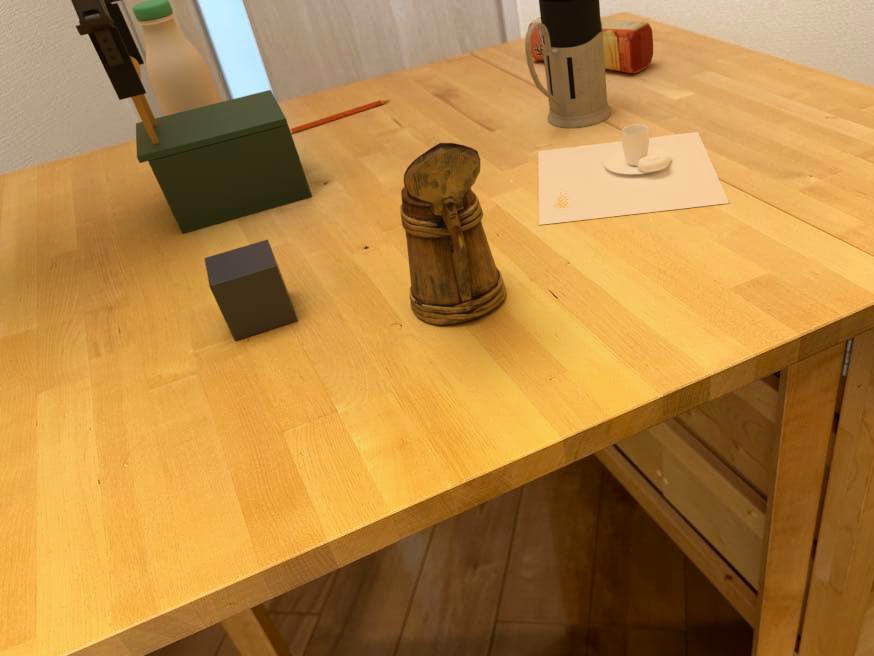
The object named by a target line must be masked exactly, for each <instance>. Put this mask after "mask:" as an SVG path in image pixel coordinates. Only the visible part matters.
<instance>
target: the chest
mask: <svg viewBox="0 0 874 656" xmlns="http://www.w3.org/2000/svg"><path fill="white" fill-rule="evenodd" d="M290 129H291V128H290V126H289V123H288V124H287V125H284V126H280V127H277V128H273V129H269V130H265V131H261V132H257V133H254V134H250V135H246V136H242V137H238V138H234V139H231V140H227V141H223V142H219V143H215V144H211V145H208V146H204V147H200V148H196V149H192V150H188V151H185V152H181V153H177V154H173V155H169V156H165V157H162V158H158V159H154V160H150V161H147V162H148V164H149V166H150V168H151V171H152V173H153V175H154V177H155V179H156V181H157V183H158V186H159V188H160V189H161V192H162V194H163V196H164V198H165V200H166V202H167V204H168V207H169V209H170V211H171V214H172V215H173V217H174V220H175V222H176V223H177V226H178V229H179V230H180V232H181V234H186V233H189V232H192V231H193V232H194V231H196V230H200V229H203V228H206V227H210V226H213V225H217V224H221V223H224V222H227V221H231V220H234V219H238V218H241V217H245V216H249V215H252V214H256V213H259V212H263V211H266V210H269V209H273V208H277V207H281V206H283V205H287V204H291V203H294V202H298V201H301V200H305V199H308V198H311V197H313V195H312V191H311V188H310V186H309V183H308V180H307V177H306V174H305V171H304V168H303V165H302V162H301V159H300V156H299V153H298V150H297V147H296V144H295V141H294V138H293V134H291V132H290Z"/></svg>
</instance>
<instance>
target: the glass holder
mask: <svg viewBox="0 0 874 656" xmlns="http://www.w3.org/2000/svg"><path fill="white" fill-rule="evenodd" d="M538 5H539V6H538V7H539V14H540V16H539V17H541V23H536V22H535V23H533V24H532V25H531V26H530V27H529V26H528V27H529V28H528V27H527V31H526V33H525V39H524V51H525V58H526V64H527V66H528V71H529V73H530V76H531V79H532V81H533V83H534V85H535V86H536V89H537V90H538V91H540V93H542V94H543V95H544V96H545V97H546V98H548V105H549V106H548V107H549V108H548V114H547V122H548V123H549V124H550V125H552V126H554V127H558V128H566V129H576V128H577V129H578V128H585V127H590V126H594V125H597V124H599V123H601V122H604V121H606V120H608V118H610V116H611V115H612V109H611V107H610V105H609V103H608V93H607V79H606V77H607V76H606V69H605V60H604V44H603V30H602V22H601V7H600V5H601V4H600V0H538ZM537 26H539V27H540V29H541V30H542V33H543V38H542V46H543V55H544V61H543V63H544V71H545V80H546V81H545V82H546V88H547V89H546V88H545V87H544V86H543V84H542V82H541V81H540V79H539V77H538V74H537V72H536V68H535V65H534V61H533V57H532V54H531V35H532V33H533V30H534V29H535V28H536V27H537Z"/></svg>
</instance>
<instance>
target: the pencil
mask: <svg viewBox="0 0 874 656" xmlns="http://www.w3.org/2000/svg"><path fill="white" fill-rule="evenodd" d="M390 101H391V99H389V98H388V99H379V100H376V101H373V102H370V103H367V104H364V105H360V106H357V107H353V108H350V109H348V110H345V111H341V112H338V113H336V114H333V115H330V116H326V117H322V118H320V119H317V120H314V121H311V122H308V123H304V124H301V125H299V126H295V127H292V128H289V129H290V132H291V135H294V134H298V133H300V132H303V131H304V132H305V131H306V130H310V129H313V128H316V127H319V126H322V125H325V124H327V123H328V124H329V123H332V122H334V121H337V120H340V119H343V118H346V117H347V118H348V117H350V116H353V115H356V114H358V113H362V112H365V111H368V110H371V109H373V108H374V109H375V108H377V107H380V106H383V105H385V104H386V103H388V102H390Z"/></svg>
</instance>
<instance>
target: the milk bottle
mask: <svg viewBox="0 0 874 656" xmlns="http://www.w3.org/2000/svg"><path fill="white" fill-rule="evenodd" d="M132 13H133V14H134V17H135V19H136V20H137V22H138V25H139V26H141V29H142V31H143V35H144V40H145V41H144V42H145V65H146V71H147V75H148V78H149V81H150V84H151V86H152V88H153V91H154V94H155V96H156V98H157V100H158V102H159V105H160V108H161V111H162V113H163V115H164V116H167V115H171V114H175V113H179V112H183V111H187V110H191V109H196V108H200V107H204V106H208V105H212V104H216V103H220V102H222V99H221V97H220V96H219V93H218V91H217V88H216V85H215V83H214V80H213V78H212V75H211V73H210V71H209V68H208V66H207V64H206V62H205V60H204V58H203V57H202V55H201V54H200V52H199V51H198V49H196V47H195V46H194V45H193V44H192V43H191V42H190V41H189V40H188V39H187V37H186V35H184V34H183V32H182V30H181V29H180V28H179V26H178V24H177V23H176V20H175V18H176V15H175V14H174V12H173V7H172V5H171V3H170V1H169V0H145V1H141V2H139V3H136V4H134V5H133V6H132Z"/></svg>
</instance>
